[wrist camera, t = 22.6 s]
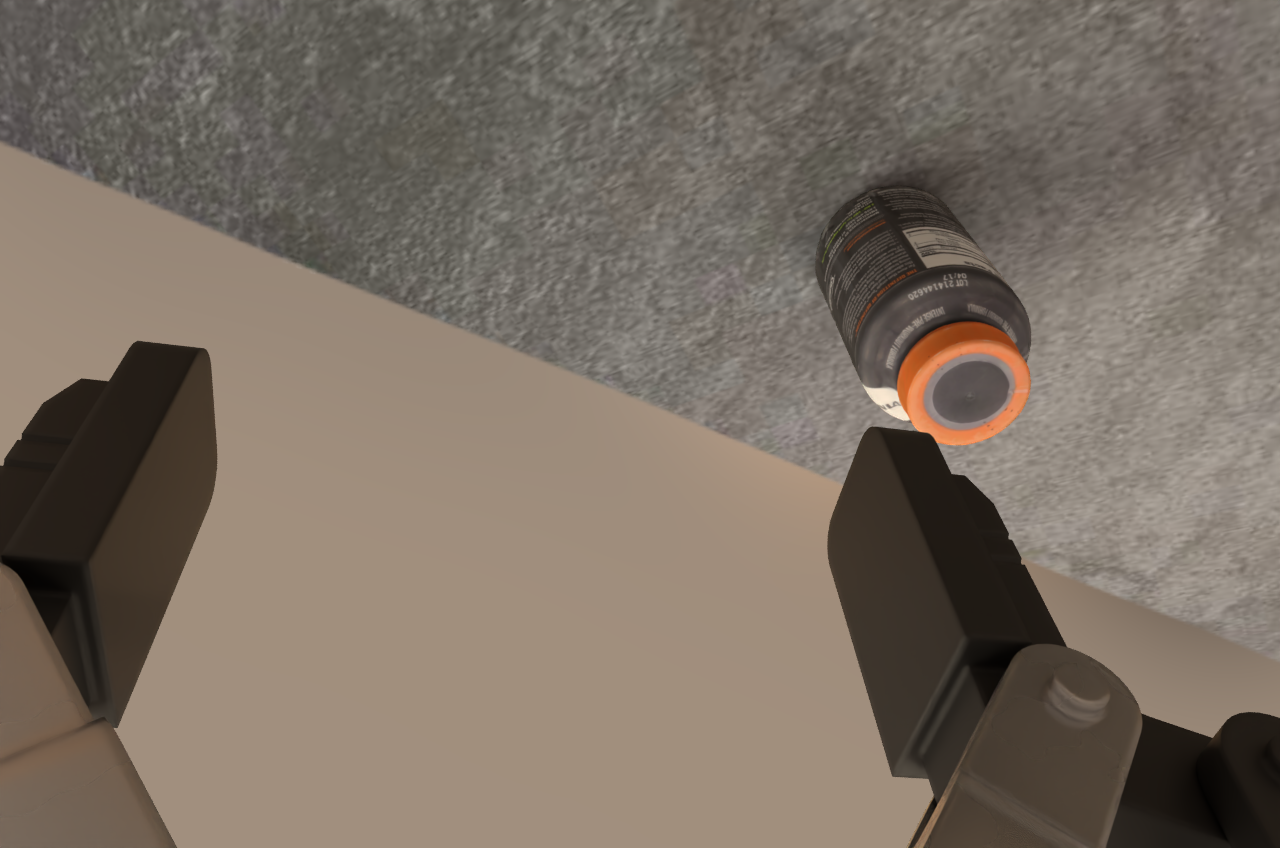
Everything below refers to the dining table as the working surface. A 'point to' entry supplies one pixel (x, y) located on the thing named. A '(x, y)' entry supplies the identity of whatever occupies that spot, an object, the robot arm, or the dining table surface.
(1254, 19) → the dining table surface
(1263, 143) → the dining table surface
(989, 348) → the pill bottle
